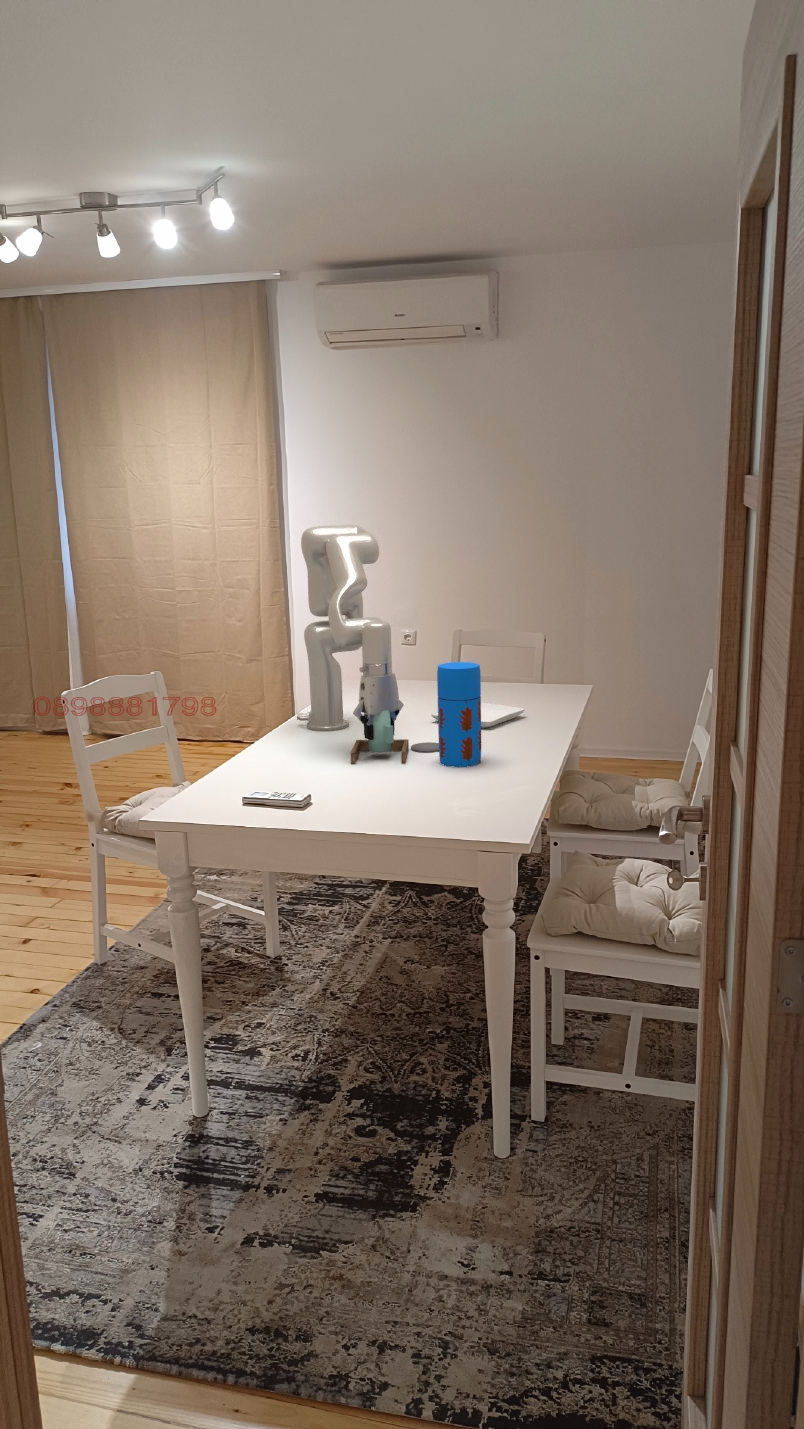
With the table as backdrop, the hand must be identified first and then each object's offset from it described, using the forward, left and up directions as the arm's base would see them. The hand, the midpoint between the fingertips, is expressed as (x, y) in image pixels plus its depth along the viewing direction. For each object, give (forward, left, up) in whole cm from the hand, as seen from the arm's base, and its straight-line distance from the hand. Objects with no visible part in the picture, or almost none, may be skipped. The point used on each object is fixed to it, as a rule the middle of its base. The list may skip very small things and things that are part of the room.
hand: (379, 736), depth 270 cm
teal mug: (+1, -1, -4) cm, 4 cm away
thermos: (+21, -6, -6) cm, 23 cm away
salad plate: (+26, +43, -6) cm, 50 cm away
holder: (0, 0, -5) cm, 5 cm away
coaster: (+12, +8, -5) cm, 16 cm away
